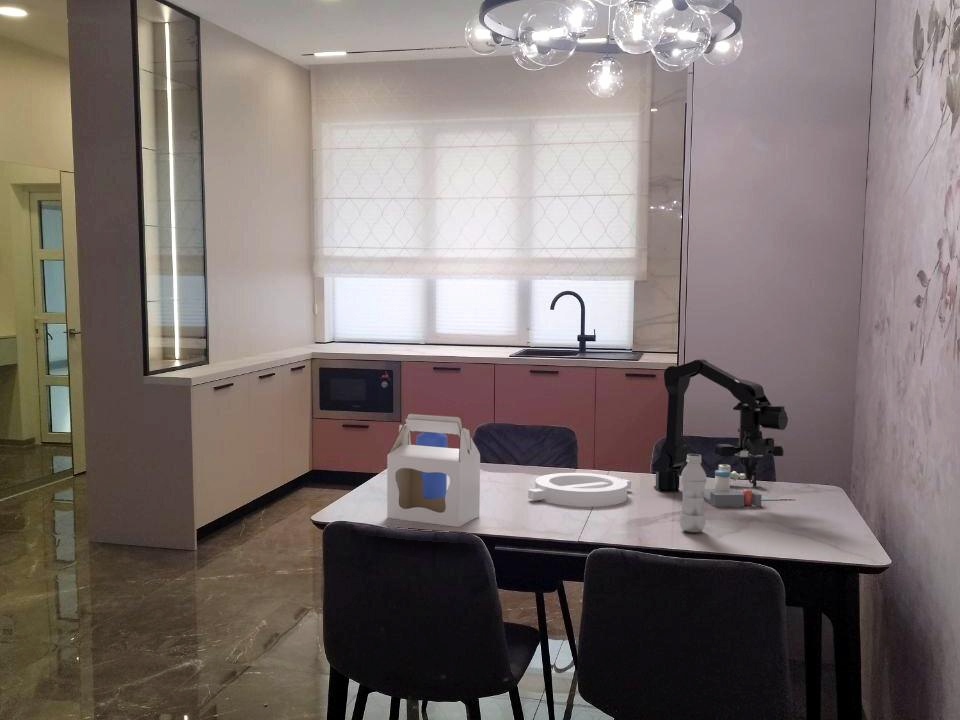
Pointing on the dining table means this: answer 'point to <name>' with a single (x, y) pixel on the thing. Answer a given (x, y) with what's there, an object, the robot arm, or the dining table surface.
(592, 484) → the white circle with bar
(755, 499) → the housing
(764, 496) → the mat
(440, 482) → the water bottle
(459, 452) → the gable box
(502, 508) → the dining table surface
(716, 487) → the cartridge
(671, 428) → the robot arm
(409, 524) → the dining table surface
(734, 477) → the valve
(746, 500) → the plunger button
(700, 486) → the plastic bottle
